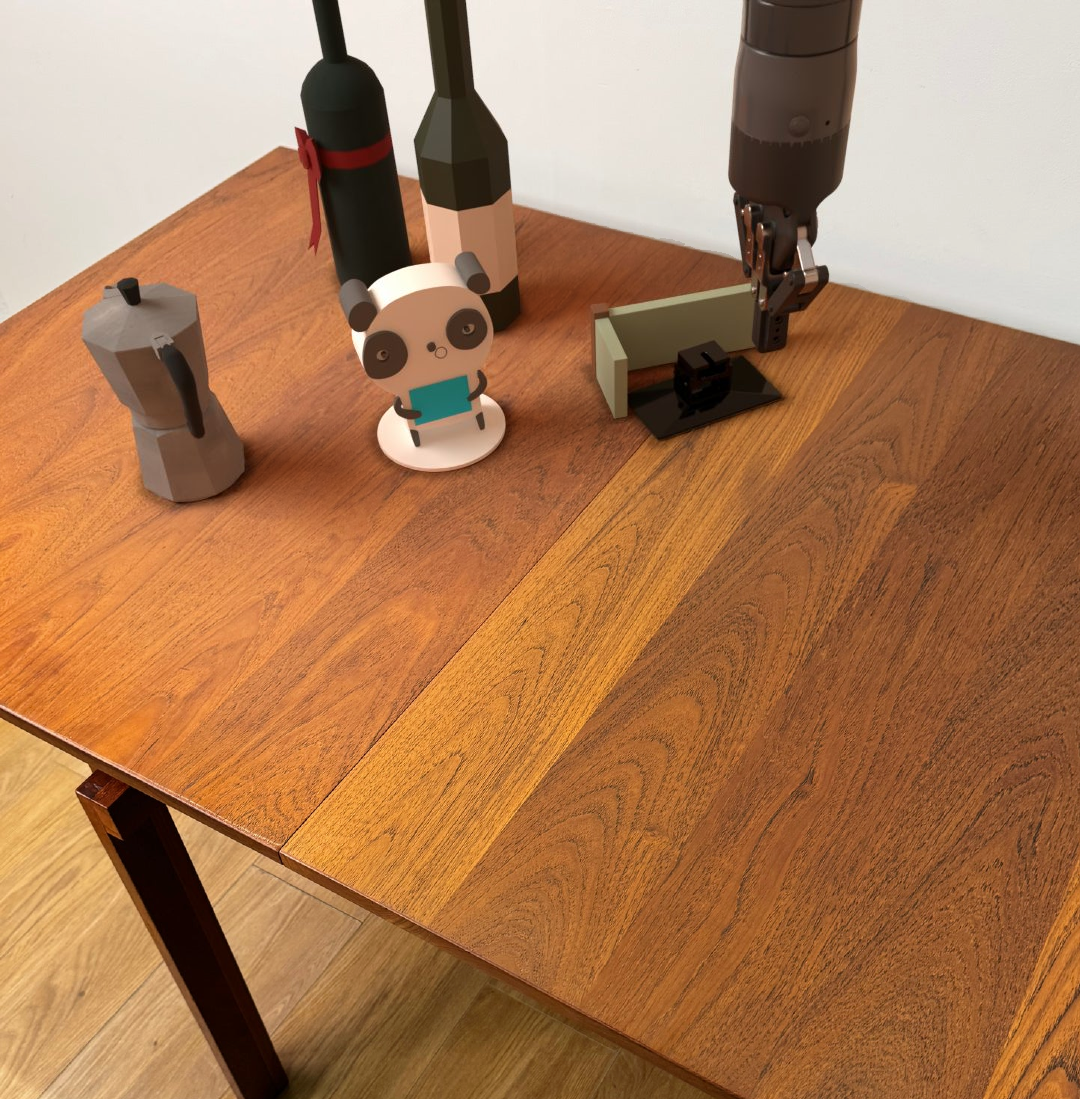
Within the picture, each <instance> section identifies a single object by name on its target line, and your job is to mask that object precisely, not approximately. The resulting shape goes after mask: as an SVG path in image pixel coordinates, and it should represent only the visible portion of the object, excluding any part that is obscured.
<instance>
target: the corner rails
mask: <svg viewBox="0 0 1080 1099" xmlns="http://www.w3.org/2000/svg"><path fill="white" fill-rule="evenodd" d="M750 288H751V282H749V283H744V284H743V283H742V284H738V285H731V286H726V287H722V288H720V287H719V288H715V289H710V290H706V291H699V292H693V293H687V294H683V295H682V294H681V295H677V296H672V297H666V298H661V299H655V300H649V301H643V302H639V303H631V304H627V305H623V306H616V307H610V308H609V307H608V305H607V303H606V302H600V303H594V304H590V305H589V314H590V318H589V319H590V348H591V349H590V352H591V353H590V354H591V371H592V373H593V375H594V377H595V378H596V379H597V382H598V384H599V386H600V389H601V391H602V393H603V396H604V398H605V400H606V402H607V405H608V407H609V409H610V412H611V414H612V416H613V419H621V418H626V417H628V405H627V393H628V372H631V371H634V370H635V371H636V370H641V369H647V368H651V367H657V366H662V365H667V364H672V363H674V362H676V361H677V359H678V352H679V351H682V350H685V349H688V348H691V347H694V346H697V345H700V344H703V343H706V342H709V341H712V340H714V341H715V342H716V343H717V344H718V345H719V346H720V347H721V348H722V349H723V350H724V351H725V352H726V353H731V352H732V353H733V352H738V351H741V350H748V349H752V348H756V346H755V345H754V343H753V341H752V328H753V316H754V305H755V300H756V299H754V298H753V297H752V294H751V291H750Z"/></svg>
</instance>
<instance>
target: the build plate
mask: <svg viewBox="0 0 1080 1099" xmlns="http://www.w3.org/2000/svg"><path fill="white" fill-rule="evenodd" d="M673 363H674V365H673V371H672V373H673V377H671V378H668V379H665V380H661V381H658V382H656V383H653V384H650V385H646V386H644V387H640V388H638V389H633V390H631V391H627V407H628V408H629V409H630V410H631V412H633V414H634V415H635V416H636V417H637V418H638V420H639V421H640V422H641V424H643V426H644V428H646V429H647V431H648V432H649V433H650V434H651V435H652V437H653V438H654V439H655V440H656V441H657V442H661V441H664V440H667V439H670V438H672V437H675V436H678V435H681V434H684V433H687V432H691V431H693V430H696V429H700V428H702V427H705V426H708V425H711V424H713V423H716V422H719V421H722V420H726V419H728V418H731V417H734V416H737V415H740V414H743V413H745V412H749V411H751V410H754V409H758V408H760V407H763V406H767V405H768V404H769V405H770V404H772V403H775V402H778V401H781V400H782V396H783V395H782V393H781V392H779V390H777V388H775V386H774V385H773V384H772V383H771V382H770V381H769V380H768V379H767V378H766V377H765V376H764V375H763V374H762V372H760V371H759V370H758V369H757V368H756V367H755V366H754V365H753V364H752V363H751V362H750V361H749V360H748V359H747V358H746V357H745V355H741V354H740V355H738V356H735V357H732V358H731V356H730V354H728V352H725V351H724V350H723V349H722V348H721V347H720V346H719V345H718V344H717V343H716V342H715V341H714V340H712V341H709V342H706V343H703V344H700V345H697V346H694V347H691V348H688V349H685V350H682V351H679V352H678V359H677V361H676V362H673Z"/></svg>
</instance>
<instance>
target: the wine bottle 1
mask: <svg viewBox="0 0 1080 1099" xmlns="http://www.w3.org/2000/svg"><path fill="white" fill-rule="evenodd" d="M311 3H312V8H313V13H314V18H315V23H316V29H317V33H318V39H319V44H320V49H321V50H320V51H321V54H322V58H321V59H320V60H318V61H317V62H315V64H313V65H312V67H310V69H309V71H308V72H307V74H306V75H305V78H304V80H303V82H302V83H301V89H300V95H299V96H300V97H299V98H300V102H301V107H302V111H303V116H304V121H305V127H306V129H303V128H300V127H297V126H294V133H295V138H296V143H297V153H298V157H299V161H300V163H301V164H302V167H303V169H304V170H307V182H308V192H309V200H310V211H311V220H312V227H311V232H310V237H309V243H308V249H307V250H308V251H310V249H311V248H313V249H314V257H315V258H317V253H318V249H319V244H320V239H321V236H322V231H323V230H322V220H321V210H320V199H321V204H322V205H321V206H322V209H323V214H324V219H325V224H326V228H327V233H328V238H329V242H330V248H331V253H332V257H333V264H334V267H335V272H336V277H337V279H338V282H339V284H340V287H342V286H343V284H344V283H346V282H347V281H349V280H351V279H357V280H360V281H362V282H363V283H364V284H365V285H366V287H367V290H368V289H369V287H370V286H371V285H372V284H373V283H375V282H376V281H377V280H379V279H380V278H382V277H384V276H385V275H387V274H390V273H392V272H394V271H397V270H400V269H402V268H406V267H409V266H414V265H413V258H412V253H411V246H410V241H409V235H408V228H407V224H406V222H407V221H406V215H405V210H404V204H403V198H402V192H401V186H400V180H399V175H398V174H399V172H398V168H397V161H396V155H395V150H394V143H393V138H392V130H391V125H390V120H389V119H390V118H389V114H388V112H389V111H388V106H387V100H386V95H385V89H384V87H383V85H382V83H381V81H380V79H379V78H378V76H377V74H376V73H375V71H374V69H373V67H371V66H370V65H369V64H368V63H367V62H365V61H364V60H362V59H360V58H357V57H355V56H352V55H350V54H348V49H347V43H346V36H345V32H344V26H343V21H342V14H341V10H340V9H341V8H340V3H339V0H311ZM319 196H320V197H319ZM319 198H320V199H319Z"/></svg>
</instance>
